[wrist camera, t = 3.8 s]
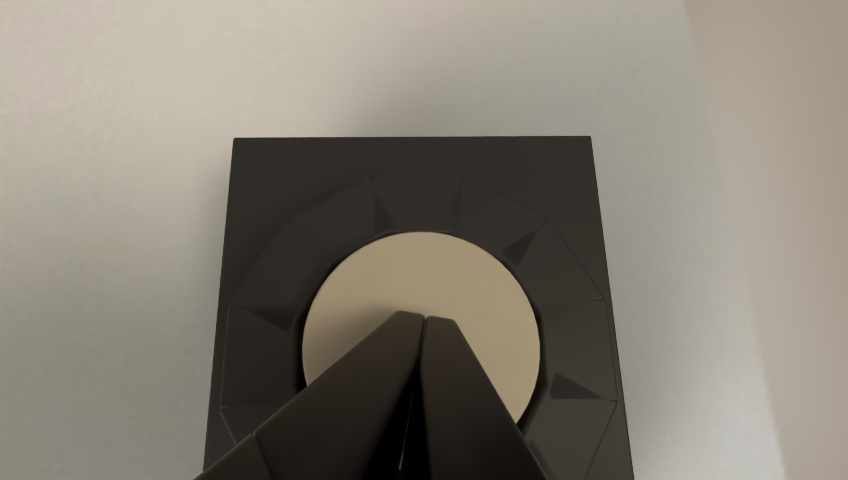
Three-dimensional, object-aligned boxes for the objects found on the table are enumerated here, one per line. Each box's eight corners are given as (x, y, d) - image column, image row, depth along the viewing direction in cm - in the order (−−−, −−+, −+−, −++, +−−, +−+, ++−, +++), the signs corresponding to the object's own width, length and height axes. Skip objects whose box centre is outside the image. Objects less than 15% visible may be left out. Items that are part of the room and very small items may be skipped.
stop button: (523, 461, 10) (551, 469, 8) (317, 467, 10) (295, 475, 8) (509, 264, 11) (531, 229, 9) (324, 266, 11) (306, 231, 9)
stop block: (579, 586, 14) (710, 703, 8) (253, 597, 14) (134, 726, 8) (544, 210, 17) (619, 89, 11) (277, 213, 17) (205, 91, 11)
